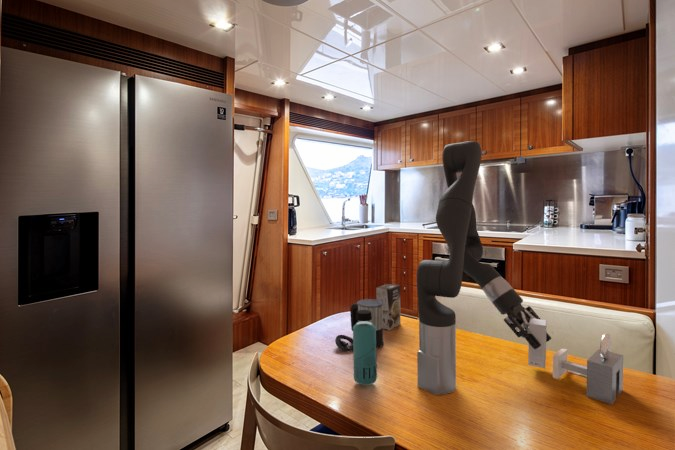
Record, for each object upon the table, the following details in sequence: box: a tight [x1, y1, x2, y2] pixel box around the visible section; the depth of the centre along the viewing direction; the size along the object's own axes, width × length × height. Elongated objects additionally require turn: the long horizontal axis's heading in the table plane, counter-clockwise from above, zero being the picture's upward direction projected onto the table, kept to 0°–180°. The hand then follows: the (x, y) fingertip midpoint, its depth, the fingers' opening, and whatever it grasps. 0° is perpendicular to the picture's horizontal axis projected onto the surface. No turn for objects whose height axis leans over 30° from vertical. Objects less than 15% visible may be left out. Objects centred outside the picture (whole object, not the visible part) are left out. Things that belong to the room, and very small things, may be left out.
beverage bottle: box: [352, 310, 378, 386], centre depth 92 cm, size 6×7×20 cm
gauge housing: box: [566, 332, 624, 405], centre depth 90 cm, size 13×15×15 cm
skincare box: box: [527, 318, 547, 369], centre depth 98 cm, size 6×4×12 cm
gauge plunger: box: [552, 348, 587, 380], centre depth 91 cm, size 11×11×6 cm
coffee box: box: [375, 283, 401, 331], centre depth 137 cm, size 9×6×16 cm
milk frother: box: [334, 298, 385, 352], centre depth 118 cm, size 14×16×15 cm
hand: (543, 343), depth 96 cm, fingers closed on skincare box, 7 cm apart
